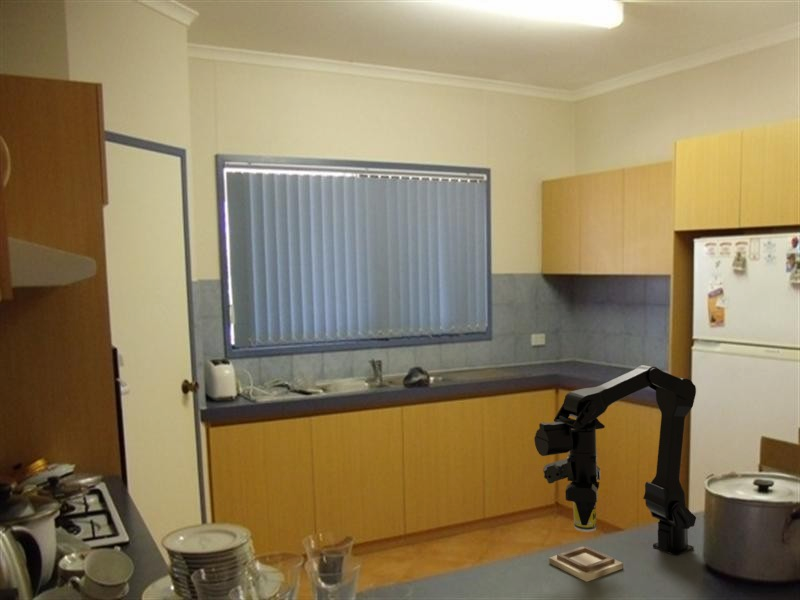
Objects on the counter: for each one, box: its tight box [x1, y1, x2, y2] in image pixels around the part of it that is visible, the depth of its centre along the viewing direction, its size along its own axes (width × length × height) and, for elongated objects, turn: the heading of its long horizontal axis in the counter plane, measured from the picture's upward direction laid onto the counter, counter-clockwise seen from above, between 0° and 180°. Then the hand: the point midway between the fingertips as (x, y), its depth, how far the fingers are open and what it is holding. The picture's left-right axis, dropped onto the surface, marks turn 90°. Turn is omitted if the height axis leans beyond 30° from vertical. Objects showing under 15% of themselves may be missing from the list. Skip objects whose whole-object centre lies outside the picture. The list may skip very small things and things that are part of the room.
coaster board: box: [548, 545, 624, 583], centre depth 143 cm, size 11×11×2 cm
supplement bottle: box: [572, 501, 597, 533], centre depth 143 cm, size 5×5×8 cm
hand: (584, 520), depth 143 cm, fingers closed on supplement bottle, 5 cm apart
